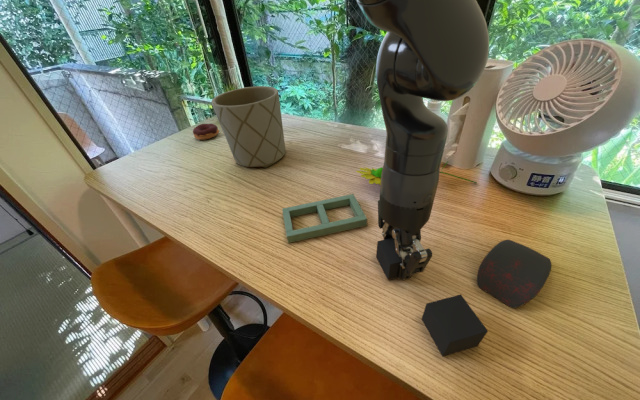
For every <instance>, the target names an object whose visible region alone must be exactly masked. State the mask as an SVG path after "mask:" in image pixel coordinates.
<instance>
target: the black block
mask: <svg viewBox="0 0 640 400" xmlns="http://www.w3.org/2000/svg"><path fill="white" fill-rule="evenodd" d="M421 321H422V322H423V325H424V326H425V329H426V330H427V332H428V334H429V335H430V337H431V339H432V341H433V343H434V344H435V347H436V348H437V349H438V351H439V354H440V355H441V357H446V356H449V355H452V354H455V353H459V352H462V351H466V350H469V349H472V348H476V347H478V346H479V345H480V344H481V342H482V341H483V339H484V338H485V336H486V335H487V333H488V332H489V330H488V329H487V327H486V326H485V325H484V324H483V322H482V321H481V320H480V318H479V317H478V315H477V314H476V313H475V311H474V310H473V309H472V307H471V306H470V305H469V303H468V302H467V301H466V299H465V298H464V296H463V295H462V294H457V295H453V296H450V297H446V298H443V299H442V298H441V299H439V300H434V301H431V302H428V303H426V304H425V307H424V310H423V313H422V317H421Z"/></svg>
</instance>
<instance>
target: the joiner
mask: <svg viewBox="0 0 640 400" xmlns="http://www.w3.org/2000/svg"><path fill="white" fill-rule="evenodd" d="M347 206H349V207H350V209H351V211H352V213H353V215H354V216H352V217H347V218H343V219H339V220H333V221H330V220H329V217H328V215H327V212H326V210H332V209H336V208H341V207H347ZM281 210H282V216H283V223H284V230H285V235H286V241H287V243H288V244H291V243H294V242H295V243H296V242H300V241H304V240H308V239H309V240H310V239H313V238H318V237H322V236H327V235H331V234H337V233H340V232H343V231H349V230H353V229H358V228H363V227H367V226H368V218H367V216H366V214H365V212H364V210H363V209H362V207H361V205H360V204H359V202H358V200H357V198H356V196H355V194H354V193H351V194H345V195H341V196H336V197H332V198H326V199H321V200H317V201H312V202H307V203H303V204H297V205H293V206H288V207H284V208H283V207H282V208H281ZM313 213H317V215H318V218H319V222H320V224H315V225H312V226H306V227H301V228H298V229H293V223H292V218H294V217H300V216H303V215H309V214H313Z"/></svg>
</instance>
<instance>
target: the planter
mask: <svg viewBox="0 0 640 400" xmlns="http://www.w3.org/2000/svg"><path fill="white" fill-rule="evenodd" d="M280 101H281V100H280V95H279V90H278V88H275V87H273V86H266V85H265V86H264V85H258V86H246V87H240V88H235V89H232V90H228V91H225V92H222V93H220V94H218V95H216V96H214V98H212V100H211V105H212V108H213V110H214V112H215V116H216V118H217V121H218V123H219V126H220V128H221V130H222V133H223V135H224V137H225V139H226V143H227V145H228V147H229V150H230V152H231V155H232V156H233V157H232V158H234V161H235V163H236V164H237V165H240V166H242V167H248V168H255V167H262V168H265V169H266V168H269V167H270V166H272V165H274V164H275V163H277V162H278V161H279V160H280V159H282V158H283V157H284V155H285V154H286V143H285V142H286V141H285V135H284V126H283V119H282V118H283V117H282V109H281V102H280Z"/></svg>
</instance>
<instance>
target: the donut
mask: <svg viewBox="0 0 640 400" xmlns="http://www.w3.org/2000/svg"><path fill="white" fill-rule="evenodd" d="M219 133H220V130H219V129H218V126H217V125H216V124H214V123H201V124H198V125H196V126H195V127H194V128H193V129H192V134H193V137H194V138H195V139H196V140H198V141H204V140H210V139H213V138H215V137H216V136H218V134H219Z"/></svg>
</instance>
